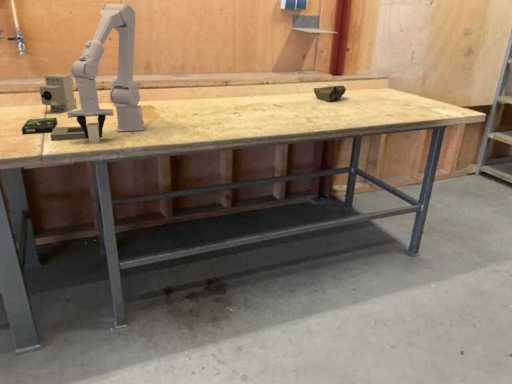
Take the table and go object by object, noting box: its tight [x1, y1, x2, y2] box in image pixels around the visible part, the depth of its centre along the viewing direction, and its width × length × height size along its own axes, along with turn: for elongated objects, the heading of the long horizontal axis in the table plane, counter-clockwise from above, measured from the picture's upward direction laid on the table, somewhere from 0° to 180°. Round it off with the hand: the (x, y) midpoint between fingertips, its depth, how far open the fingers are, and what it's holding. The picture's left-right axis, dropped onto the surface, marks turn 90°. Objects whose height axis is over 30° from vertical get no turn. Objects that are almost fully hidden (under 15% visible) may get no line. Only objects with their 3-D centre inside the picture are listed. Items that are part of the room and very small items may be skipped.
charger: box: [86, 122, 101, 144], centre depth 144 cm, size 3×3×6 cm
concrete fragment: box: [313, 85, 346, 103], centre depth 219 cm, size 15×10×15 cm
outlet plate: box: [50, 124, 99, 142], centre depth 151 cm, size 16×10×2 cm, turn 106°
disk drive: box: [21, 117, 58, 135], centre depth 159 cm, size 10×3×15 cm
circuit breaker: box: [38, 73, 78, 113], centre depth 182 cm, size 8×14×15 cm, turn 166°
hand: (94, 136), depth 145 cm, fingers open, 4 cm apart
